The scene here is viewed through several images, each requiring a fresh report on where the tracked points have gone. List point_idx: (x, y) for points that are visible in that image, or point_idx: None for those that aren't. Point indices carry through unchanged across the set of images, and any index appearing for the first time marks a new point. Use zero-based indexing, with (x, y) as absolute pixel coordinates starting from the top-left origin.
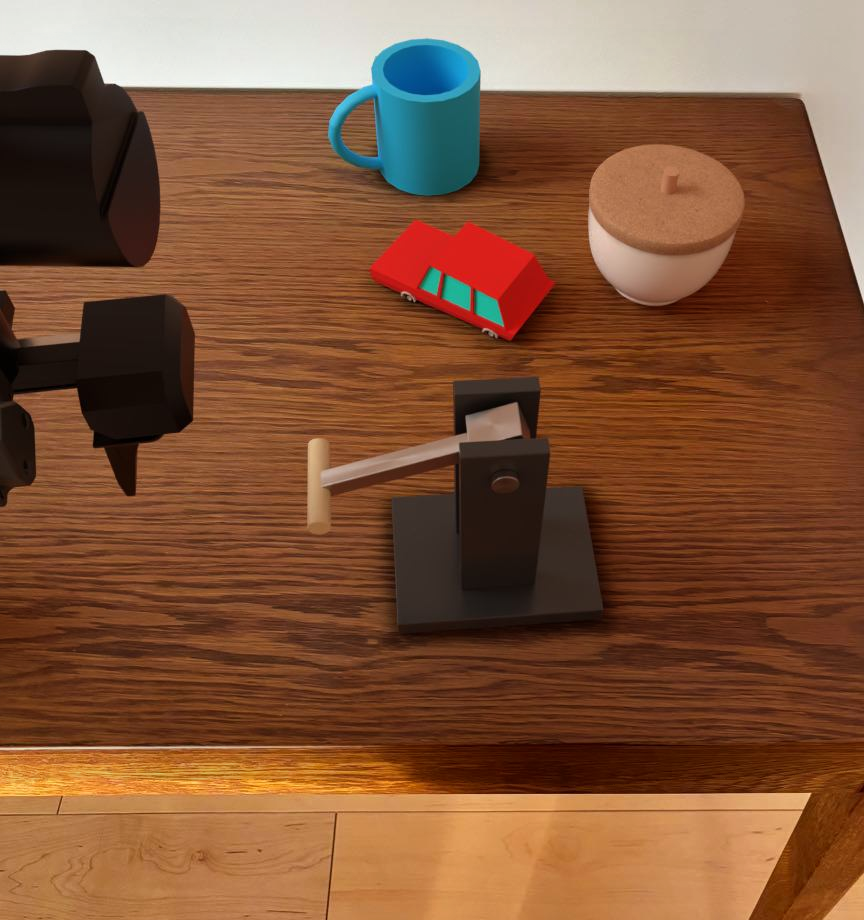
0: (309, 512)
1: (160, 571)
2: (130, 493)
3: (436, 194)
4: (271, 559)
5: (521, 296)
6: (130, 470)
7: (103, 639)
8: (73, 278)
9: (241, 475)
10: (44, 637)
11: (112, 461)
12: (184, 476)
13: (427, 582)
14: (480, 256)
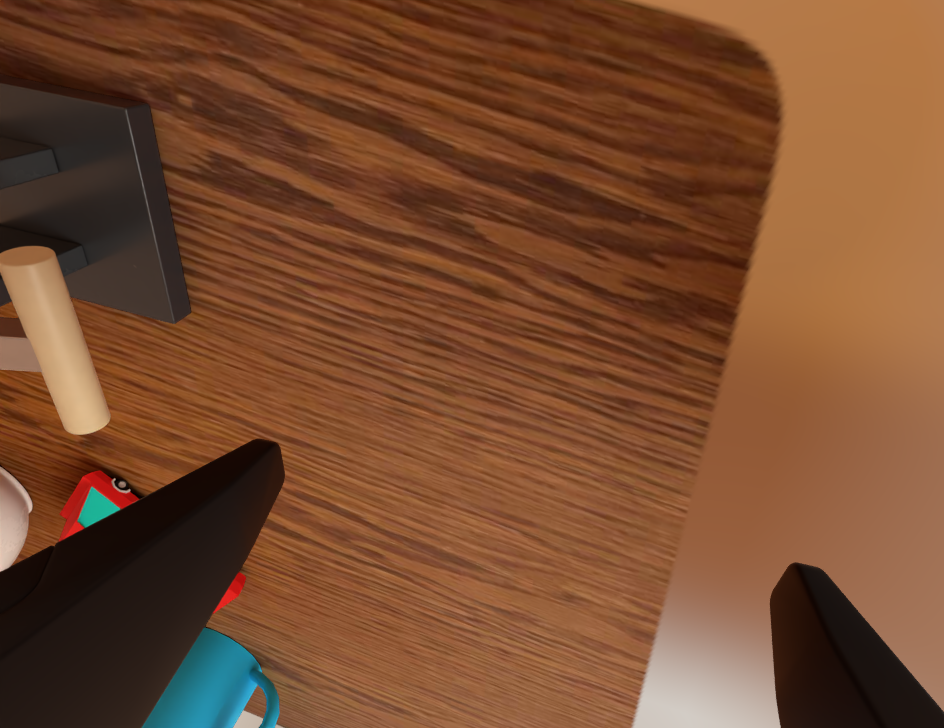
0: (38, 293)
1: (493, 315)
2: (253, 448)
3: (205, 628)
4: (338, 285)
5: (74, 513)
6: (111, 522)
7: (592, 222)
8: (562, 693)
9: (381, 418)
10: (688, 254)
11: (76, 586)
12: (453, 440)
13: (99, 173)
14: None
